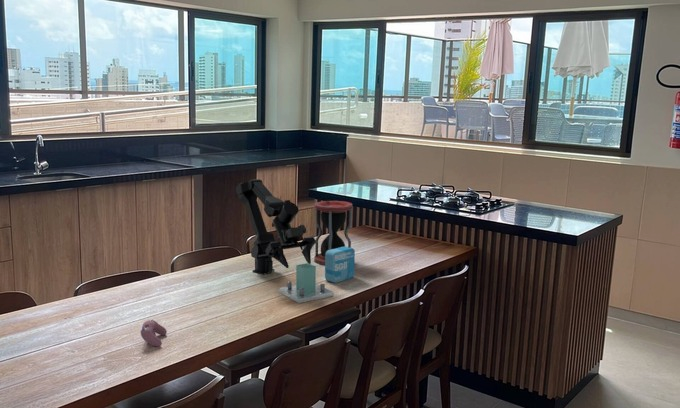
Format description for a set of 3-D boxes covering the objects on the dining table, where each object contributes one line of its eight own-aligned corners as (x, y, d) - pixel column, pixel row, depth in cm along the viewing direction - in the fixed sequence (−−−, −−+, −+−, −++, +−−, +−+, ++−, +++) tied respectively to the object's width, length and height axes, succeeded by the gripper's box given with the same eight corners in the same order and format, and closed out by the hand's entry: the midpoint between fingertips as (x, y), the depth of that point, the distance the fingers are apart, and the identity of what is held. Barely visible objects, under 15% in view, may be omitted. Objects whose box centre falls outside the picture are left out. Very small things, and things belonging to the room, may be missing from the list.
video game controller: (154, 339, 180) (142, 319, 179) (168, 332, 180) (156, 312, 179) (148, 353, 170) (135, 332, 169) (162, 345, 170) (150, 325, 169)
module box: (296, 289, 218) (296, 265, 216) (308, 287, 221) (308, 263, 219) (303, 293, 214) (303, 268, 212) (315, 290, 217) (315, 266, 215)
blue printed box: (333, 283, 230) (333, 253, 228) (324, 281, 233) (324, 250, 231) (354, 277, 238) (355, 247, 236) (346, 274, 242) (346, 245, 239)
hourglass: (354, 257, 268) (355, 201, 264) (348, 267, 252) (349, 208, 248) (318, 254, 271) (318, 199, 266) (310, 264, 255) (310, 206, 251)
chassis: (279, 292, 219) (279, 281, 219) (312, 285, 227) (312, 275, 226) (298, 303, 208) (298, 291, 207) (332, 296, 216) (333, 285, 215)
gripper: (269, 220, 216) (284, 257, 209) (313, 215, 226) (329, 250, 219) (259, 237, 224) (273, 274, 217) (302, 231, 234) (317, 266, 227)
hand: (299, 265), depth 220 cm, fingers open, 9 cm apart
